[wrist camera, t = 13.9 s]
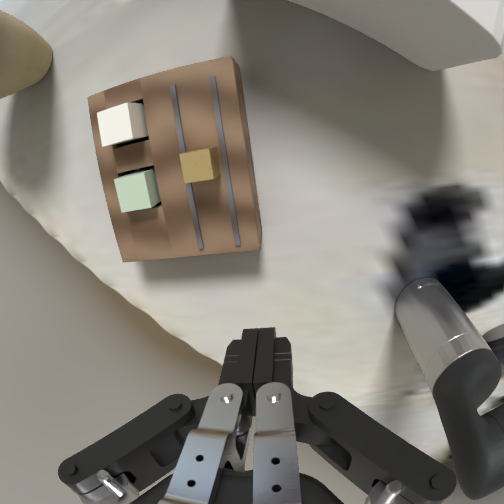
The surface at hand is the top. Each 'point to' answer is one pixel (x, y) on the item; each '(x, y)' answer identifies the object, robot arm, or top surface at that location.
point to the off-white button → (122, 124)
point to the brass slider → (200, 164)
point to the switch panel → (170, 170)
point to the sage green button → (137, 190)
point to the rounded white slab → (424, 27)
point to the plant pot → (21, 55)
